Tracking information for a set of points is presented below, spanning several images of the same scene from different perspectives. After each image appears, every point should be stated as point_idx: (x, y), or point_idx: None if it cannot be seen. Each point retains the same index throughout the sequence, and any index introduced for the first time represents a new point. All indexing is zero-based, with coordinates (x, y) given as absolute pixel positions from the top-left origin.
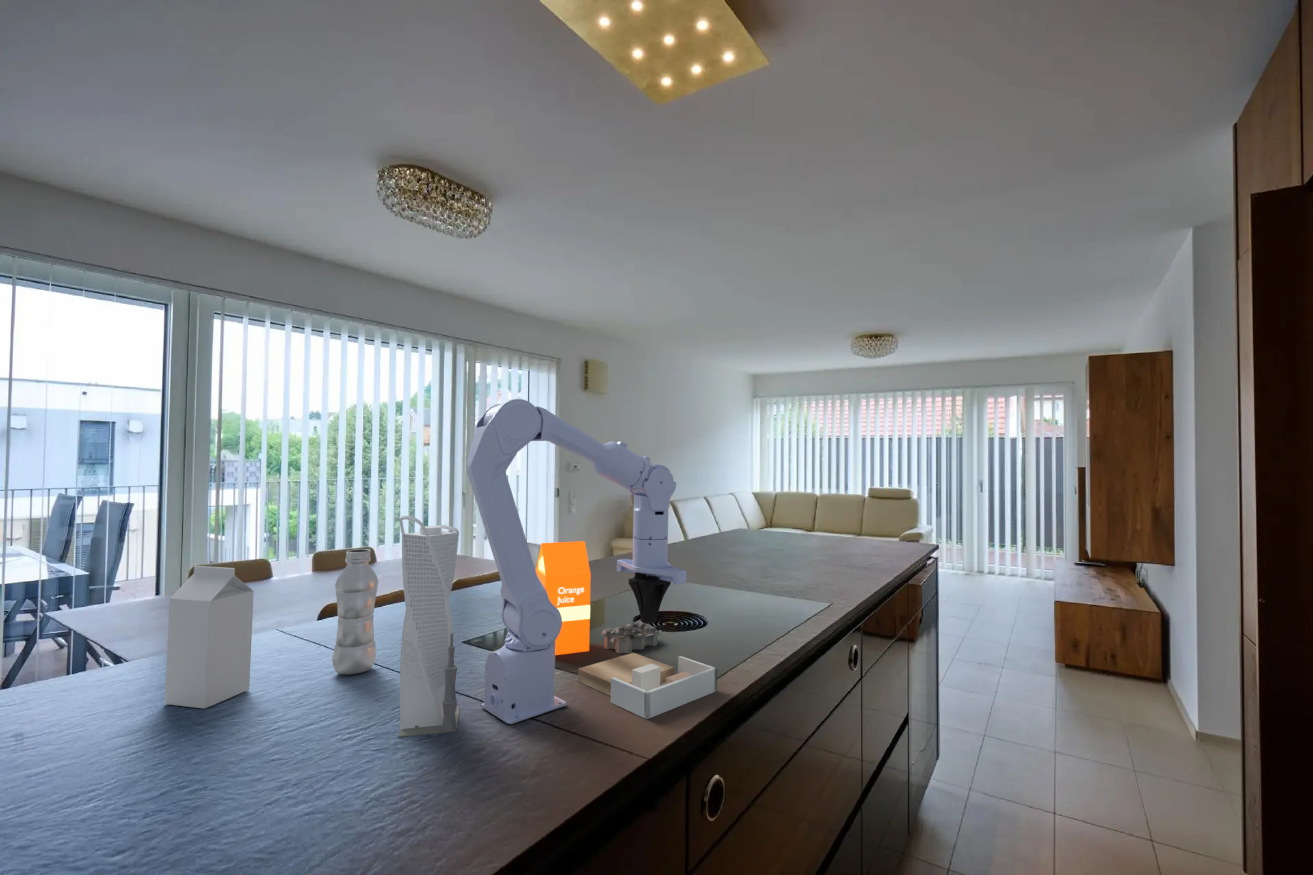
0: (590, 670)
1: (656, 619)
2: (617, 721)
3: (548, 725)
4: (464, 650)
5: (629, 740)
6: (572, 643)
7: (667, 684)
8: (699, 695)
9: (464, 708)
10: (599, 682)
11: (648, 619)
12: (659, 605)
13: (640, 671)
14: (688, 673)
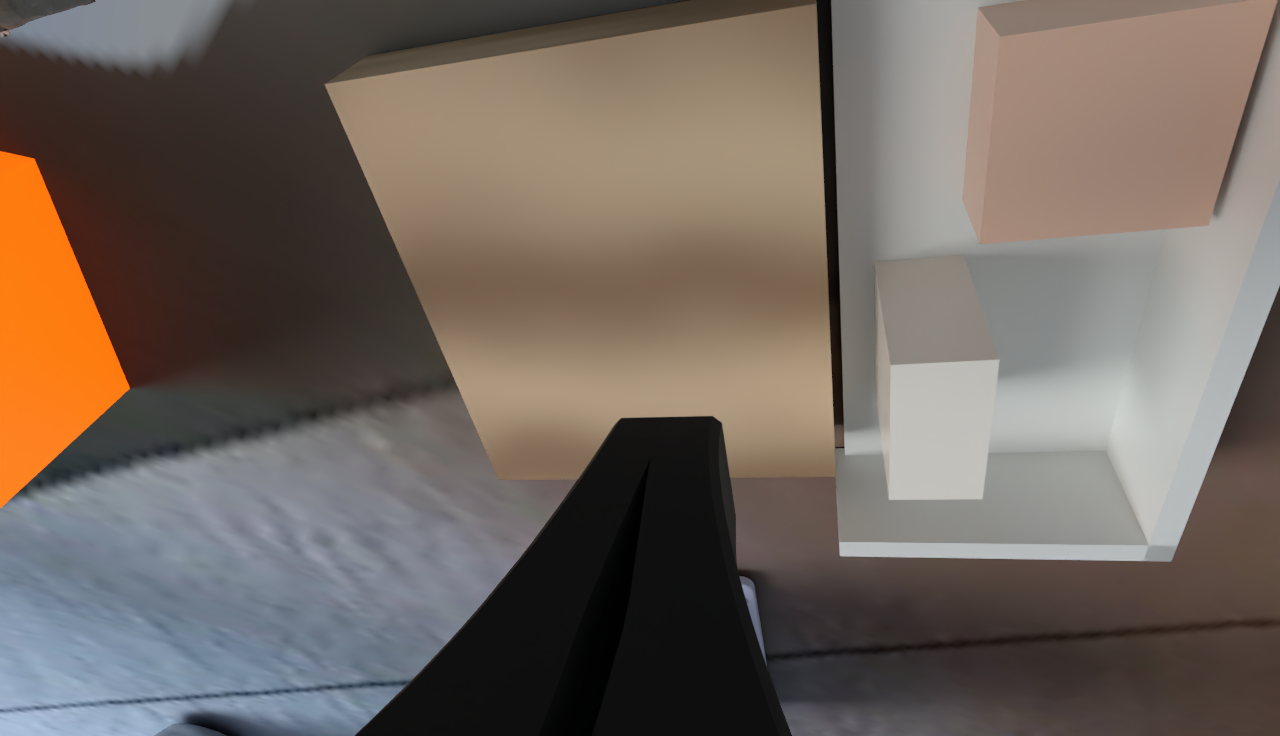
0: (553, 457)
1: (721, 438)
2: None
3: (848, 656)
4: (29, 545)
5: (1188, 584)
6: (30, 289)
7: (1198, 428)
8: None
9: None
10: None
11: (733, 551)
12: (740, 587)
13: (954, 486)
14: (1070, 32)
